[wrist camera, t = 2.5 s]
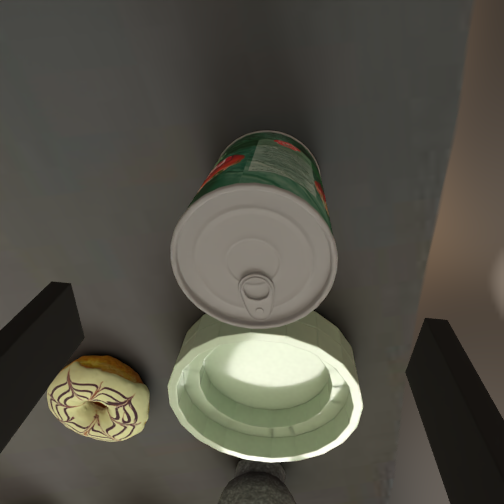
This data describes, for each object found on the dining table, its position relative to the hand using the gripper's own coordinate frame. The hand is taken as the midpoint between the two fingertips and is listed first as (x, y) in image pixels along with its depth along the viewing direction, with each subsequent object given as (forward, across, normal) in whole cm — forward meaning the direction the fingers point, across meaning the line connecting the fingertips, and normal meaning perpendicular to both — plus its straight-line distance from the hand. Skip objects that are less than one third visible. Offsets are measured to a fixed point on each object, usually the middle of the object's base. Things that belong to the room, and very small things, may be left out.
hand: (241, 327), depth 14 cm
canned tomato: (+15, 0, 0) cm, 15 cm away
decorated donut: (+15, -16, -24) cm, 32 cm away
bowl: (+15, +1, -18) cm, 23 cm away
